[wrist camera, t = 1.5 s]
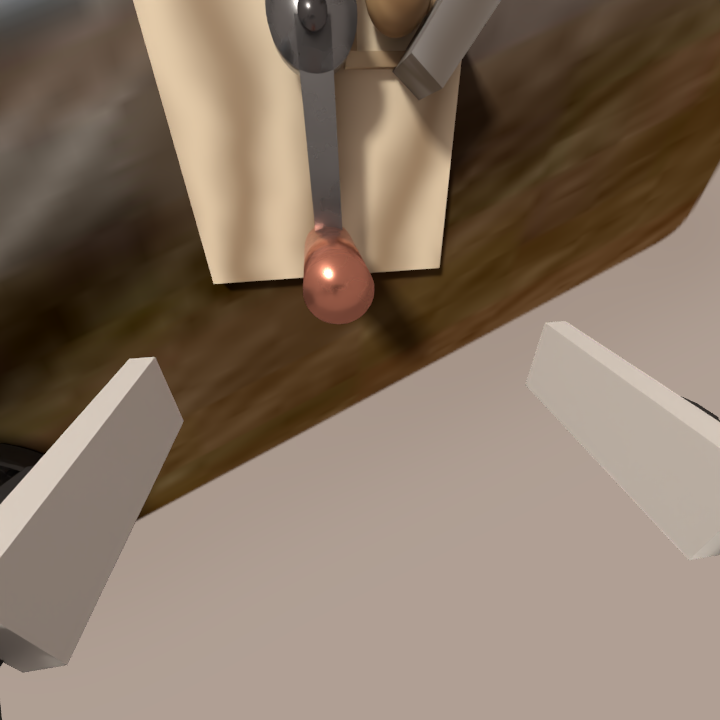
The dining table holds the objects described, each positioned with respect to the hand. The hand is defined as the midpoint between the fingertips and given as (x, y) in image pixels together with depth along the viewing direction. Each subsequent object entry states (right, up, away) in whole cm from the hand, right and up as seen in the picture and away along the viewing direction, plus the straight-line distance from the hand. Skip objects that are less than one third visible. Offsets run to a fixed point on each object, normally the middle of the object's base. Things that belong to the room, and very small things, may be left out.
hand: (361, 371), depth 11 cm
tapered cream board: (-3, +18, +14) cm, 23 cm away
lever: (-3, +18, +11) cm, 21 cm away
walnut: (+2, +24, +10) cm, 26 cm away
